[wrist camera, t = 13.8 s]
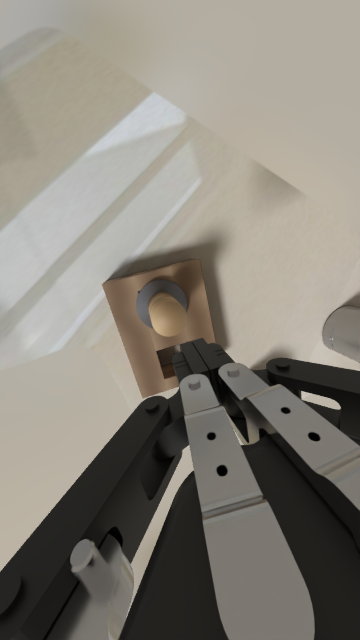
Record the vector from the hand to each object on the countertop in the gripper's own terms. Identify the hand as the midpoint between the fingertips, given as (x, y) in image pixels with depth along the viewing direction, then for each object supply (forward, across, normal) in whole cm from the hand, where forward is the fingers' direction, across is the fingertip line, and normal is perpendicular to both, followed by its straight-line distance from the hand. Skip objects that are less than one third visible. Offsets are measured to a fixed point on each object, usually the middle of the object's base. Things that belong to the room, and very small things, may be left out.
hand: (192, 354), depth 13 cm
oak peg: (+20, 0, +1) cm, 20 cm away
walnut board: (+20, 0, +5) cm, 21 cm away
